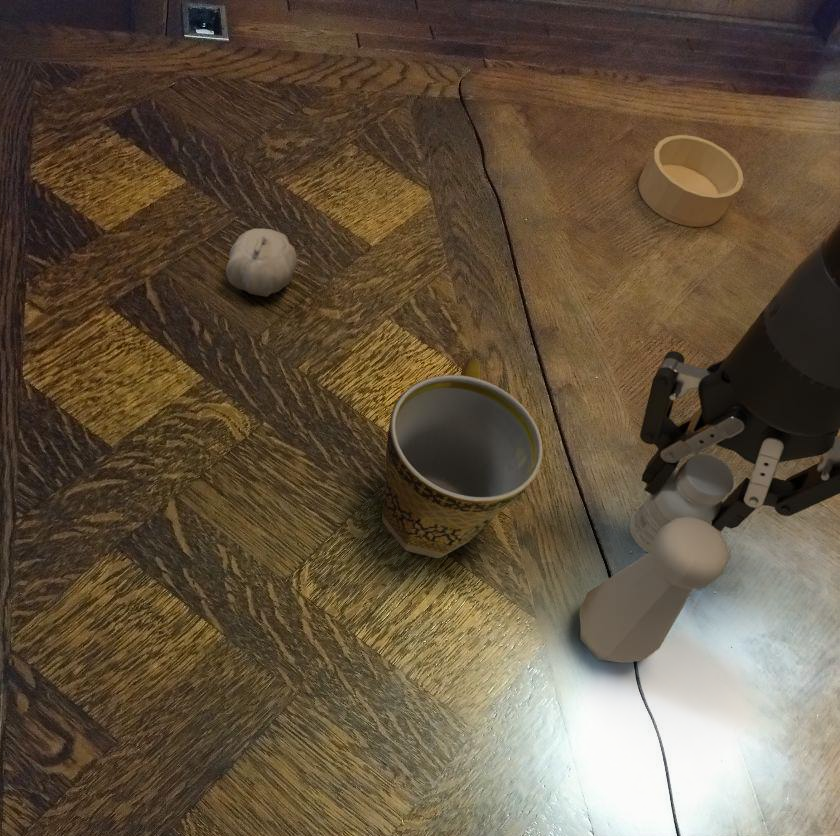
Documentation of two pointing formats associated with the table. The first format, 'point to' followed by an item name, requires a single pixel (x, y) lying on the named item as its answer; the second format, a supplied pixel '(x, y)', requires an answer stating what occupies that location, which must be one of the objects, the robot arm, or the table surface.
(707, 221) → the tan round bowl
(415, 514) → the ceramic cup
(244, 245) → the garlic
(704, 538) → the salt shaker
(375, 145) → the table surface
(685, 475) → the pill bottle
